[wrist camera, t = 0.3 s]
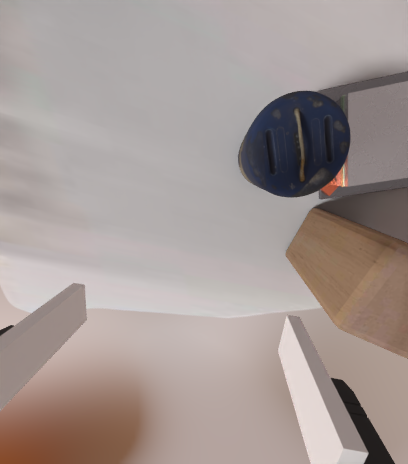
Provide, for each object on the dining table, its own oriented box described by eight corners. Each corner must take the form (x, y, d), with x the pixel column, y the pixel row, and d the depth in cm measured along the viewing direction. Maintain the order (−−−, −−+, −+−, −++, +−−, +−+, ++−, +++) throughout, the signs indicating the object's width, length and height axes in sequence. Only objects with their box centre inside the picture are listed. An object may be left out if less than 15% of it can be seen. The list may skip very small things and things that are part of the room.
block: (363, 228, 37) (512, 288, 18) (330, 275, 40) (429, 372, 20) (310, 204, 37) (402, 240, 17) (281, 254, 39) (334, 331, 20)
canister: (301, 127, 34) (379, 79, 16) (291, 188, 36) (351, 203, 19) (239, 125, 34) (253, 78, 17) (234, 185, 37) (242, 197, 20)
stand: (312, 93, 32) (326, 80, 27) (436, 67, 30) (476, 47, 25) (315, 199, 36) (329, 203, 31) (425, 183, 34) (458, 184, 29)
